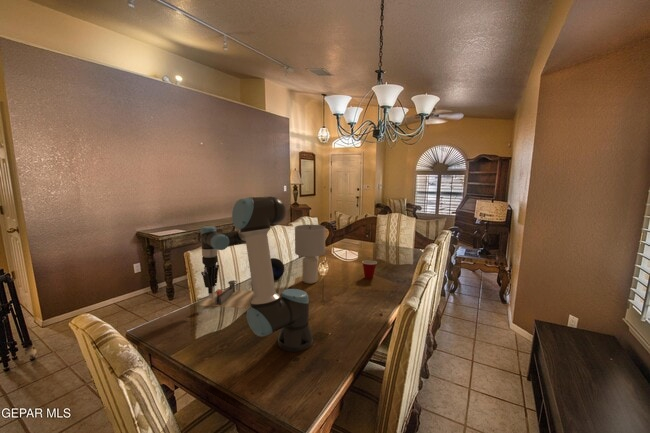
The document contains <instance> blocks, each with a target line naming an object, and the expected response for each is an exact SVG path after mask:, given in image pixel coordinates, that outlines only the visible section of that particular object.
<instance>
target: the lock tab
mask: <svg viewBox="0 0 650 433" xmlns="http://www.w3.org/2000/svg"><path fill="white" fill-rule="evenodd" d="M217 290H218V289H217ZM217 290H216V291H217ZM222 290H223V289H219V290H218V291H217V296H220V295H221V294H222Z"/></svg>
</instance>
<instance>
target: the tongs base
mask: <svg viewBox="0 0 650 433" xmlns="http://www.w3.org/2000/svg"><path fill="white" fill-rule="evenodd" d="M235 285H236V284H233V293H234V292H235V290H236V288H235V287H236V286H235ZM228 289H230V286H228V287H227V288H225V289H223V290H224V291H223V292H222V294H221V295H220V296H222V295H223V294H224V293H225V292H226V291H227V290H228ZM220 296H216V297H215V305H217V304H218V303H219V297H220Z"/></svg>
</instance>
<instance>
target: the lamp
mask: <svg viewBox="0 0 650 433" xmlns="http://www.w3.org/2000/svg"><path fill="white" fill-rule="evenodd" d="M294 253H295V255H297V256H300V257H303V258H302V270H301V271H302V281H303V283H305V284H310V285H311V284H314V283H316V282H317V281H318V266H319V264H318V258H317V257H320V256H324V255H325V254H326V226H325V225H320V224H301V225H296V226H294Z"/></svg>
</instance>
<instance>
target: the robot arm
mask: <svg viewBox="0 0 650 433" xmlns="http://www.w3.org/2000/svg"><path fill="white" fill-rule="evenodd" d="M231 215H232V217H231V219H232V220H231V221H232V224H233V226H234V227H235V228H236V229H238V230H232V231H225V232H217V227H216V226H213V225H210V226H209V225H207V226H202V227H201V228H200V239H201V240H200V242H201V245H200V246H201V256H202V257H201V260H202V261H201V262H202V264H203V265H204V267H203V269H204V270H203V271H201V272H200V274H201V276H202V279H203V284H204V287H205V288H207V294H208V297H209V298H210V299H214V298H215V292H216V289H215V288H216V287H217V283H218V275H219V274H218V273H219V269H220V265H219V264H217V263H218V262H219V261H218V260H219V259H218V250H219V251H223V250H226V249H227V248H228V247H234V246H239V245H240V246H241V245H246V250H247V253H246V254H247V258H248V264H249V265H248V266H249V274H250V278H251V284H252V291H253V294H254V297H253V299H252V300H251V301H250V306H251V307H250V308H248V309H247V311H246V320H247V324H248V326H249V327H250V329H251V330H252V332H253V333H254V334H255V336H258V337H265V336H268V335H271V334H273V333H275V332H276V331H277V332H278V330H280V331H279V333H278V336H277V343H278V346H279V348H280V349H282V350H283V351H286V352H293V353H296V352H302V351H305V350H308V348H310V347H311V346H312V344H313V338H314V336H313V333H312V330H311V327H310V325H309V323H310V322H309V320H310V319H309V316H310V314H309V313H310V312H309V311H310V310H309V309H310V301H309V294H308V293H307V292H306V291H304V290H302V289H297V288H286V289H283V290H282V291H281V294H279V293H277V292H276V286H275V280H274V277H273V271H272V264H271V257H272V256H271V251H270V244H269V238H268V233H269V232H270V230H271V227H275V226H277V225H278V224H280V223H281V222H283V221H284V220H285V218H286V216H287V207H286V204H285V203H284V201H283V200H281V198H278V197H277V196H257V197H244V198H243V197H242V198H239V199H238V200H236V202H235V203H234V205H233V208H232V212H231Z"/></svg>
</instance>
